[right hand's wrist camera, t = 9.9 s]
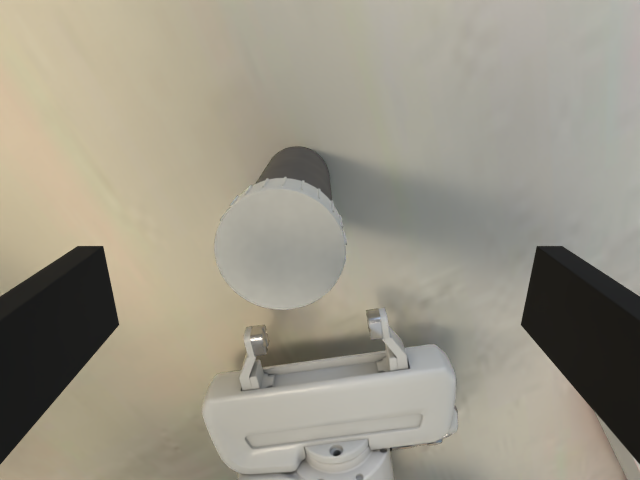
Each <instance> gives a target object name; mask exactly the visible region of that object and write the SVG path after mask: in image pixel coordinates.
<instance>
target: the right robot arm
mask: <svg viewBox="0 0 640 480" xmlns="http://www.w3.org/2000/svg"><path fill="white" fill-rule="evenodd" d="M118 325H119V322H118V317H117V312H116V307H115V302H114V297H113V292H112V287H111V283H110V278H109V273H108V268H107V263H106V258H105V253H104V248H103V246H77V247H76V248H74V249H73V250H71V251H70V252H68V253H67V254H65V255H64V256H62V257H60V258H59V259H57V260H56V261H54V262H53V263H51V264H50V265H48V266H47V267H45V268H44V269H42V270H40V271H39V272H37V273H36V274H34V275H33V276H31V277H30V278H28V279H27V280H25V281H24V282H22V283H20V284H19V285H17V286H16V287H14V288H13V289H11V290H10V291H8V292H7V293H5V294H4V295H2V296H1V297H0V464H1V463H2V462H3V461H4V459H5V458H6V457H7V456H8V455H9V454H10V452H11V451H12V450H13V449H14V448H15V447H16V445H17V444H18V443H19V442H20V441H21V439H22V438H23V437H24V436H25V435H26V434H27V432H28V431H29V430H30V429H31V428H32V427H33V425H34V424H35V423H36V422H37V421H38V420H39V418H40V417H41V416H42V415H43V414H44V412H45V411H46V410H47V409H48V408H49V407H50V405H51V404H52V403H53V402H54V401H55V400H56V398H57V397H58V396H59V395H60V394H61V392H62V391H63V390H64V389H65V388H66V387H67V385H68V384H69V383H70V382H71V381H72V380H73V378H74V377H75V376H76V375H77V374H78V372H79V371H80V370H81V369H82V368H83V367H84V365H85V364H86V363H87V362H88V361H89V360H90V358H91V357H92V356H93V355H94V354H95V353H96V351H97V350H98V349H99V348H100V347H101V345H102V344H103V343H104V342H105V341H106V340H107V338H108V337H109V336H110V335H111V334H112V333H113V331H114V330H115V329H116V328H117V327H118ZM521 325H522V327H523V328H524V329H525V330H526V331H527V333H528V334H529V335H530V336H531V337H532V338H533V340H534V341H535V342H536V343H537V344H538V345H539V347H540V348H541V349H542V350H543V351H544V353H545V354H546V355H547V356H548V357H549V358H550V360H551V361H552V362H553V363H554V364H555V365H556V367H557V368H558V369H559V370H560V371H561V372H562V374H563V375H564V376H565V377H566V378H567V380H568V381H569V382H570V383H571V384H572V385H573V387H574V388H575V389H576V390H577V391H578V392H579V394H580V395H581V396H582V397H583V398H584V400H585V401H586V402H587V403H588V404H589V405H590V407H591V408H592V409H593V410H594V411H595V412H596V414H597V415H598V416H599V417H600V418H601V420H602V421H603V422H604V423H605V424H606V425H607V427H608V428H609V429H610V430H611V431H612V432H613V434H614V435H615V436H616V437H617V438H618V439H619V441H620V442H621V443H622V444H623V445H624V447H625V448H626V449H627V450H628V451H629V452H630V454H631V455H632V456H633V457H634V458H635V459H636V461H637V462H638V463H639V464H640V297H639V296H638V295H636V294H635V293H633V292H632V291H630V290H629V289H627V288H626V287H624V286H623V285H621V284H620V283H618V282H616V281H615V280H613V279H612V278H610V277H609V276H607V275H606V274H604V273H603V272H601V271H600V270H598V269H596V268H595V267H593V266H592V265H590V264H589V263H587V262H586V261H584V260H583V259H581V258H580V257H578V256H576V255H575V254H573V253H572V252H570V251H569V250H567V249H566V248H564V247H563V246H537V248H536V253H535V258H534V263H533V268H532V273H531V278H530V282H529V287H528V292H527V297H526V302H525V307H524V312H523V317H522V322H521Z"/></svg>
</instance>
